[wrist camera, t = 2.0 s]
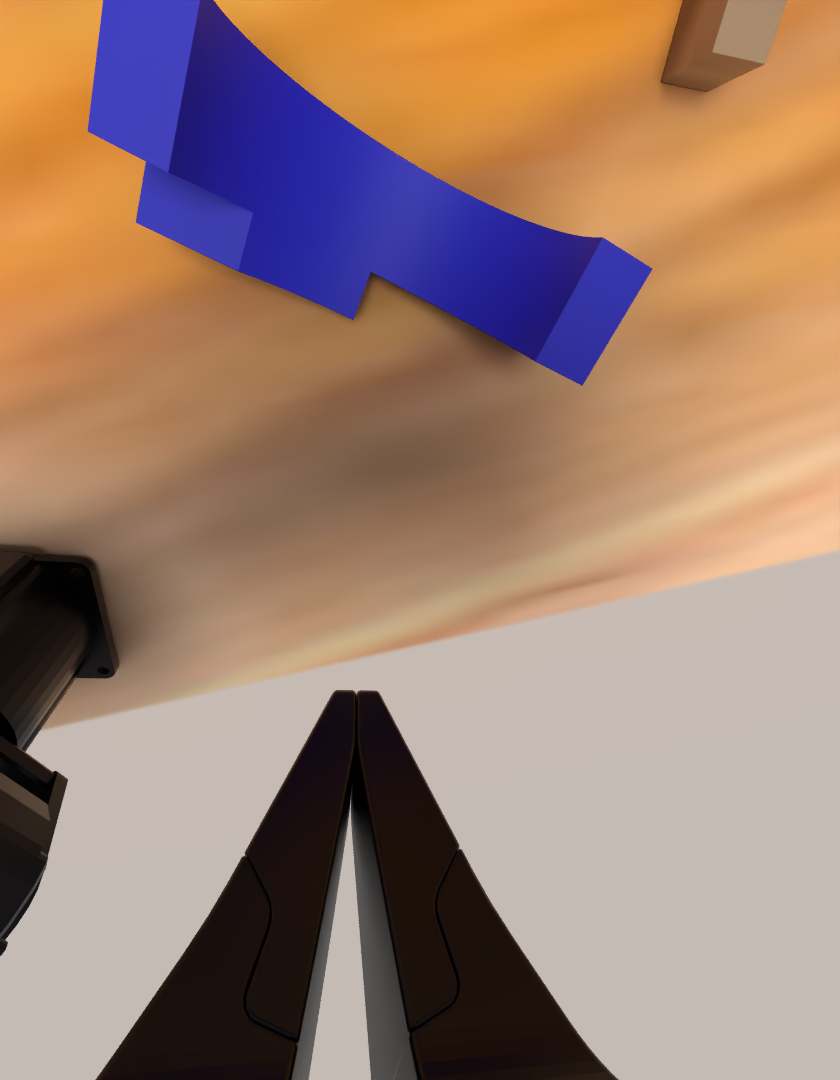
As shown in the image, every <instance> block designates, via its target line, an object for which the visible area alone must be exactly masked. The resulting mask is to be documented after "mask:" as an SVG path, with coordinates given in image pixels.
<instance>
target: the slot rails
mask: <svg viewBox="0 0 840 1080" xmlns="http://www.w3.org/2000/svg"><path fill="white" fill-rule="evenodd" d="M786 2H787V0H683V4H682V8H681V11H680V15H679V18H678V22H677V26H676V29H675V33H674V37H673V40H672V44H671V47H670V51H669V55H668V58H667V62H666V66H665V69H664V73H663V76H662V80H661V82H663V83H668V84H672V85H677V86H682V87H686V88H691V89H696V90H701V91H705V92H707V91H709V90H711V89H714V88H716V87H718V86H720V85H722V84H724V83H726V82H728V81H730V80H732V79H735V78H737V77H739V76H741V75H743V74H745V73H747V72H749V71H751V70H753V69H756V68H758V67H760V66H762V65H764V64H765V62H766V59H767V57H768V54H769V51H770V48H771V45H772V42H773V39H774V37H775V34H776V31H777V28H778V25H779V22H780V19H781V17H782V14H783V11H784V8H785V5H786Z"/></svg>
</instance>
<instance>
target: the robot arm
mask: <svg viewBox="0 0 840 1080" xmlns="http://www.w3.org/2000/svg"><path fill="white" fill-rule="evenodd" d="M76 567H77V568H80V569H82V570H83V571H84V572H80V571H79V570H77V568H76ZM105 667H106V668H105ZM117 669H118V660H117V656H116V652H115V648H114V644H113V639H112V635H111V631H110V627H109V623H108V619H107V614H106V610H105V606H104V602H103V598H102V594H101V589H100V585H99V581H98V577H97V573H96V568H95V566H94V564H93V563H92V562H91V561H90V560H88V559H86V558H82V557H70V556H50V555H30V554H27V553H21V552H1V551H0V956H1V955H2V954H3V952H4V951H5V949H6V947H7V944H8V942H7V941H6V940H5V939H6V938H7V937H8V936H9V934H10V933H11V932H12V930H13V929H14V928H15V927H16V925H17V924H18V922H19V921H20V919H21V918H22V916H23V915H24V913H25V912H26V910H27V909H28V907H29V905H30V903H31V902H32V900H33V898H34V896H35V894H36V892H37V890H38V887H39V884H40V881H41V879H42V876H43V873H44V871H45V869H46V865H47V859H48V853H49V850H50V845H51V842H52V838H53V834H54V830H55V827H56V823H57V819H58V816H59V812H60V808H61V804H62V800H63V797H64V793H65V789H66V785H67V782H68V779H67V778H65V777H64V776H63V775H61V774H60V773H59V772H57V771H54V772H52V771H50V770H49V769H48V768H46V767H45V766H44V765H42V764H41V763H39V762H38V761H37V760H35V759H34V758H33V757H31V756H30V755H28V754H27V753H26V750H27V748H28V747H29V746H30V744H31V743H32V741H33V740H34V738H35V737H36V735H37V734H38V732H39V731H40V730H41V728H42V727H43V725H44V724H45V722H46V721H47V719H48V718H49V716H50V715H51V713H52V712H53V711H54V709H55V708H56V706H57V705H58V703H59V702H60V700H61V699H62V697H63V696H64V694H65V693H66V692H67V690H68V689H69V687H70V686H71V684H72V683H73V681H74V680H75V678H110V677H112V676H113V675H114V674H115V672H116V671H117ZM350 800H351V825H352V838H353V850H354V864H355V876H356V890H357V902H358V915H359V928H360V941H361V954H362V966H363V979H364V991H365V1005H366V1018H367V1031H368V1044H369V1056H370V1069H371V1080H618V1079H617V1078H616V1077H615V1076H614V1075H613V1074H612V1073H611V1072H610V1071H609V1070H608V1069H607V1068H606V1067H605V1066H604V1065H603V1064H602V1062H601V1061H600V1060H599V1059H598V1058H597V1057H596V1056H595V1054H594V1053H593V1052H592V1051H591V1050H590V1048H589V1047H588V1046H587V1045H586V1043H585V1042H584V1041H583V1039H582V1038H581V1037H580V1035H579V1034H578V1033H577V1031H576V1030H575V1028H574V1027H573V1026H572V1024H571V1023H570V1021H569V1020H568V1018H567V1017H566V1015H565V1014H564V1012H563V1011H562V1010H561V1008H560V1006H559V1005H558V1004H557V1002H556V1001H555V999H554V998H553V996H552V995H551V993H550V992H549V990H548V989H547V987H546V986H545V984H544V983H543V981H542V980H541V978H540V977H539V975H538V974H537V972H536V971H535V969H534V968H533V966H532V965H531V963H530V962H529V960H528V959H527V957H526V956H525V954H524V953H523V951H522V950H521V948H520V947H519V945H518V944H517V942H516V941H515V940H514V938H513V936H512V935H511V933H510V932H509V930H508V929H507V927H506V925H505V924H504V922H503V921H502V919H501V918H500V916H499V914H498V913H497V911H496V910H495V908H494V907H493V905H492V903H491V902H490V900H489V898H488V896H487V895H486V893H485V891H484V889H483V888H482V886H481V884H480V882H479V880H478V879H477V877H476V875H475V873H474V872H473V870H472V868H471V866H470V864H469V862H468V860H467V858H466V857H465V855H464V853H463V851H462V850H461V849H459V844H458V842H457V840H456V838H455V836H454V834H453V832H452V830H451V828H450V826H449V825H448V823H447V821H446V819H445V817H444V815H443V813H442V811H441V809H440V807H439V805H438V804H437V802H436V800H435V798H434V796H433V794H432V792H431V790H430V788H429V786H428V785H427V783H426V781H425V779H424V777H423V775H422V773H421V771H420V769H419V767H418V765H417V764H416V762H415V760H414V758H413V756H412V754H411V752H410V750H409V749H408V746H407V745H406V743H405V741H404V739H403V737H402V735H401V733H400V731H399V729H398V727H397V726H396V724H395V722H394V720H393V718H392V716H391V714H390V712H389V710H388V709H387V707H386V705H385V703H384V701H383V699H382V697H381V695H380V694H379V692H377V691H364V690H363V691H362V690H361V691H358V692H357V694H356V693H355V691H353V690H336V691H335V692H333V694H332V696H331V697H330V699H329V701H328V703H327V705H326V706H325V708H324V710H323V712H322V714H321V716H320V717H319V719H318V721H317V723H316V724H315V726H314V728H313V730H312V732H311V734H310V736H309V737H308V739H307V741H306V743H305V744H304V746H303V748H302V750H301V752H300V753H299V755H298V757H297V759H296V761H295V762H294V764H293V766H292V768H291V770H290V772H289V773H288V775H287V777H286V779H285V781H284V783H283V784H282V786H281V788H280V790H279V792H278V793H277V795H276V797H275V799H274V800H273V802H272V804H271V806H270V808H269V810H268V812H267V813H266V815H265V817H264V819H263V820H262V822H261V824H260V826H259V828H258V829H257V831H256V833H255V835H254V837H253V839H252V841H251V842H250V844H249V846H248V848H247V849H246V852H245V856H243V857H242V858H241V860H240V862H239V863H238V865H237V867H236V869H235V871H234V873H233V874H232V876H231V878H230V880H229V881H228V883H227V885H226V887H225V888H224V890H223V892H222V893H221V895H220V897H219V898H218V900H217V902H216V904H215V905H214V907H213V909H212V910H211V912H210V914H209V915H208V917H207V918H206V920H205V921H204V923H203V925H202V926H201V928H200V929H199V931H198V932H197V934H196V935H195V937H194V938H193V940H192V941H191V943H190V944H189V946H188V947H187V949H186V950H185V952H184V954H183V955H182V957H181V958H180V960H179V961H178V962H177V964H176V965H175V967H174V968H173V970H172V971H171V972H170V974H169V975H168V977H167V978H166V980H165V981H164V983H163V984H162V986H161V987H160V988H159V990H158V991H157V993H156V994H155V996H154V997H153V998H152V1000H151V1001H150V1003H149V1004H148V1006H147V1007H146V1009H145V1010H144V1011H143V1013H142V1015H141V1016H140V1017H139V1019H138V1020H137V1022H136V1023H135V1025H134V1026H133V1027H132V1029H131V1030H130V1032H129V1033H128V1035H127V1036H126V1037H125V1039H124V1040H123V1042H122V1043H121V1045H120V1046H119V1048H118V1049H117V1050H116V1052H115V1053H114V1055H113V1056H112V1058H111V1059H110V1060H109V1062H108V1063H107V1065H106V1066H105V1067H104V1069H103V1070H102V1072H101V1073H100V1075H99V1076H98V1077H97V1079H96V1080H308V1079H309V1072H310V1066H311V1060H312V1053H313V1047H314V1040H315V1033H316V1027H317V1021H318V1014H319V1008H320V1001H321V995H322V989H323V982H324V976H325V969H326V962H327V956H328V950H329V943H330V937H331V930H332V923H333V917H334V911H335V904H336V898H337V891H338V885H339V878H340V871H341V866H342V859H343V853H344V846H345V840H346V833H347V827H348V818H349V810H350Z"/></svg>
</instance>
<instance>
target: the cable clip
mask: <svg viewBox="0 0 840 1080" xmlns="http://www.w3.org/2000/svg"><path fill="white" fill-rule="evenodd" d="M88 132H90V133H92V134H94V135H96V136H98V137H100V138H102V139H104V140H106V141H107V142H109V143H111V144H113V145H115V146H117V147H119V148H121V149H123V150H125V151H127V152H129V153H131V154H133V155H135V156H137V157H139V158H141V159H142V160H144V161H146V165H145V171H144V177H143V183H142V189H141V195H140V201H139V207H138V213H137V219H136V223H138V224H140V225H142V226H144V227H146V228H148V229H151V230H153V231H155V232H157V233H159V234H161V235H163V236H165V237H167V238H169V239H171V240H174V241H176V242H178V243H180V244H182V245H184V246H186V247H188V248H190V249H192V250H195V251H197V252H199V253H201V254H203V255H205V256H207V257H209V258H211V259H213V260H215V261H218V262H220V263H222V264H224V265H226V266H228V267H230V268H232V269H234V270H236V271H239V272H241V273H244V274H247V275H249V276H252V277H255V278H257V279H260V280H263V281H265V282H268V283H270V284H273V285H275V286H278V287H280V288H283V289H285V290H288V291H290V292H292V293H295V294H297V295H299V296H302V297H304V298H306V299H309V300H311V301H313V302H315V303H318V304H320V305H322V306H324V307H326V308H329V309H331V310H333V311H335V312H337V313H339V314H342V315H344V316H346V317H348V318H350V319H352V320H353V319H354V317H355V314H356V311H357V309H358V306H359V303H360V300H361V298H362V295H363V292H364V290H365V287H366V284H367V281H368V279H369V276H370V273H371V272H372V273H374V274H376V275H378V276H380V277H382V278H383V279H385V280H387V281H389V282H391V283H393V284H395V285H397V286H399V287H401V288H403V289H405V290H406V291H408V292H410V293H412V294H414V295H416V296H418V297H420V298H422V299H424V300H425V301H427V302H429V303H431V304H433V305H435V306H437V307H439V308H440V309H442V310H444V311H446V312H448V313H450V314H452V315H454V316H455V317H457V318H459V319H461V320H463V321H465V322H467V323H468V324H470V325H472V326H474V327H476V328H478V329H479V330H481V331H483V332H485V333H487V334H488V335H490V336H492V337H494V338H496V339H497V340H499V341H501V342H503V343H505V344H506V345H508V346H510V347H512V348H513V349H515V350H517V351H519V352H520V353H522V354H524V355H525V356H527V357H529V358H530V359H532V360H534V361H535V362H537V363H539V364H541V365H543V366H545V367H547V368H549V369H551V370H553V371H555V372H557V373H559V374H561V375H563V376H565V377H566V378H568V379H570V380H572V381H574V382H576V383H578V384H580V385H583V384H584V382H585V380H586V379H587V377H588V375H589V374H590V372H591V370H592V369H593V367H594V365H595V364H596V362H597V360H598V359H599V357H600V355H601V354H602V352H603V350H604V349H605V347H606V345H607V344H608V342H609V340H610V339H611V337H612V335H613V334H614V332H615V330H616V329H617V327H618V325H619V324H620V322H621V320H622V319H623V317H624V315H625V314H626V312H627V310H628V309H629V307H630V305H631V304H632V302H633V300H634V299H635V297H636V295H637V294H638V292H639V290H640V289H641V287H642V285H643V284H644V282H645V280H646V279H647V277H648V275H649V274H650V272H651V270H652V268H650V267H649V266H647V265H646V264H644V263H642V262H641V261H639V260H638V259H636V258H634V257H633V256H631V255H630V254H628V253H627V252H625V251H623V250H622V249H620V248H619V247H617V246H615V245H614V244H612V243H611V242H609V241H608V240H606V239H604V238H592V237H583V236H577V235H572V234H567V233H563V232H559V231H556V230H552V229H549V228H546V227H543V226H540V225H537V224H534V223H532V222H529V221H526V220H524V219H521V218H519V217H516V216H514V215H511V214H509V213H506V212H504V211H502V210H500V209H497V208H495V207H493V206H491V205H489V204H487V203H484V202H482V201H480V200H478V199H476V198H474V197H472V196H470V195H468V194H466V193H464V192H462V191H460V190H458V189H457V188H455V187H453V186H451V185H449V184H447V183H445V182H444V181H442V180H440V179H438V178H436V177H434V176H433V175H431V174H429V173H428V172H426V171H424V170H422V169H421V168H419V167H417V166H416V165H414V164H412V163H411V162H409V161H407V160H406V159H404V158H402V157H401V156H399V155H397V154H396V153H394V152H393V151H391V150H390V149H388V148H386V147H385V146H383V145H382V144H380V143H379V142H377V141H376V140H374V139H373V138H371V137H370V136H368V135H367V134H365V133H364V132H362V131H361V130H359V129H358V128H356V127H355V126H354V125H352V124H351V123H349V122H348V121H346V120H345V119H344V118H342V117H341V116H339V115H338V114H337V113H335V112H334V111H333V110H331V109H330V108H329V107H327V106H326V105H324V104H323V103H322V102H321V101H319V100H318V99H317V98H315V97H314V96H313V95H311V94H310V93H309V92H308V91H306V90H305V89H304V88H303V87H301V86H300V85H299V84H298V83H296V82H295V81H294V80H293V79H292V78H290V77H289V76H288V75H287V74H286V73H284V72H283V71H282V70H281V69H280V68H279V67H277V66H276V65H275V64H274V63H273V62H272V61H271V60H270V59H268V58H267V57H266V56H265V55H264V54H263V53H262V52H261V51H260V50H259V49H258V48H257V47H256V46H255V45H253V44H252V43H251V42H250V41H249V40H248V39H247V38H246V37H245V36H244V35H243V34H242V33H241V32H240V31H239V29H238V28H237V27H236V26H235V25H234V24H233V23H232V22H231V21H230V20H229V19H228V17H227V16H226V15H225V14H224V13H223V12H222V11H221V9H220V8H219V7H218V5H217V4H216V3H215V2H214V0H103V7H102V16H101V24H100V32H99V41H98V49H97V58H96V66H95V74H94V83H93V91H92V99H91V108H90V116H89V125H88Z"/></svg>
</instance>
